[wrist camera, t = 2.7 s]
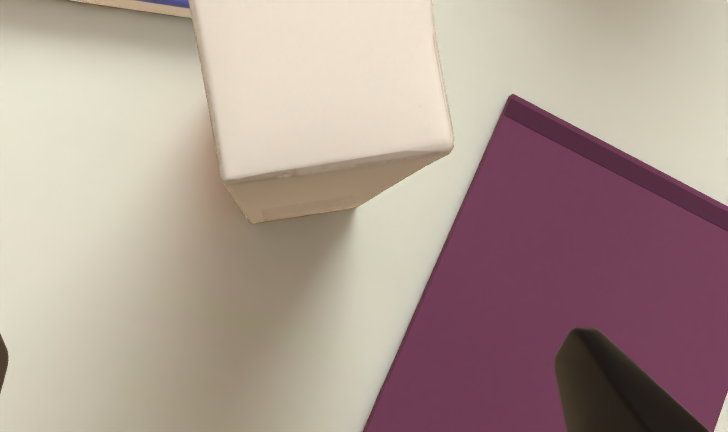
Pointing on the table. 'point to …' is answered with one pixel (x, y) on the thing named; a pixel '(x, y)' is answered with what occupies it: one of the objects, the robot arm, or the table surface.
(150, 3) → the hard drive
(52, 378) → the table surface
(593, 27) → the table surface
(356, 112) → the cosmetic box
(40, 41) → the table surface
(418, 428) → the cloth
